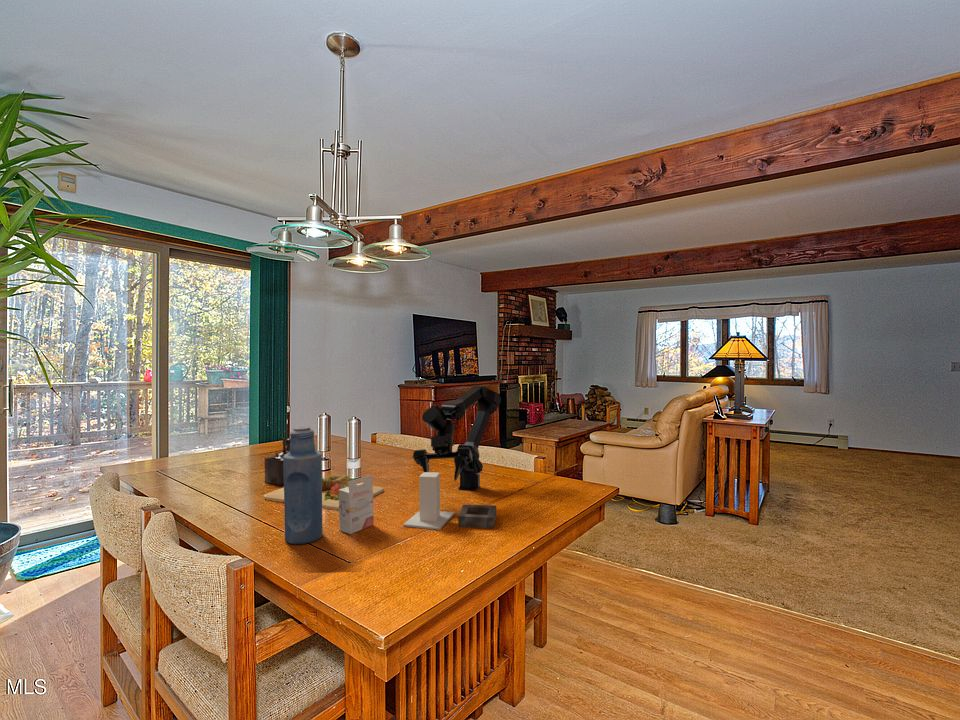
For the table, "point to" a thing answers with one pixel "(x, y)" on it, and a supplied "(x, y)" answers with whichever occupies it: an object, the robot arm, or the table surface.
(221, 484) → the table surface
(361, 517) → the ink cartridge box
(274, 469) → the black box
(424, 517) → the off-white block
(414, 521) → the rubber mat
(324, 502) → the cutting board
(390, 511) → the table surface
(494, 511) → the block
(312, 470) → the bottle
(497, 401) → the robot arm
